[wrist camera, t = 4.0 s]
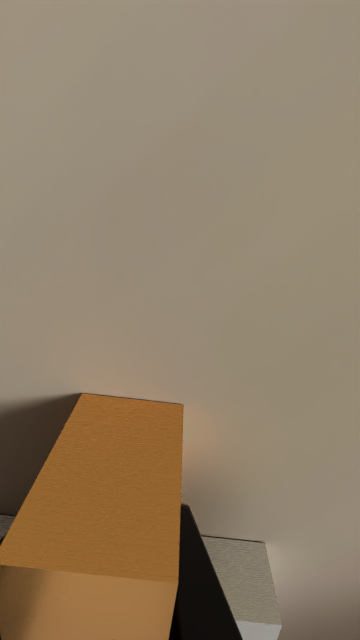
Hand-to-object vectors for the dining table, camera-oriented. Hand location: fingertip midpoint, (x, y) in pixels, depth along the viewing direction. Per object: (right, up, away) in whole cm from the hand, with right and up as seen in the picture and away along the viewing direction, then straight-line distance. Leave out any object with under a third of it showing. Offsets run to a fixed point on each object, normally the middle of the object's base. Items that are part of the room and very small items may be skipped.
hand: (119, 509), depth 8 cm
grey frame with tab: (-1, -4, +3) cm, 5 cm away
